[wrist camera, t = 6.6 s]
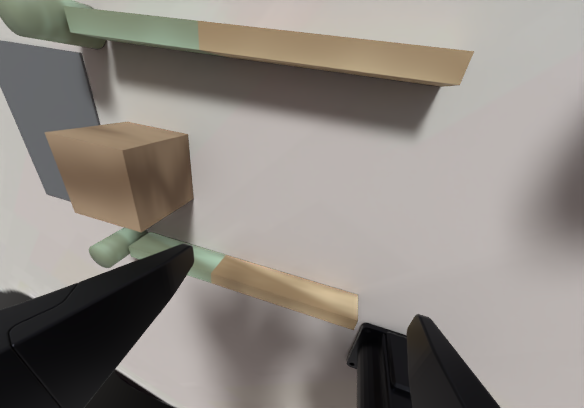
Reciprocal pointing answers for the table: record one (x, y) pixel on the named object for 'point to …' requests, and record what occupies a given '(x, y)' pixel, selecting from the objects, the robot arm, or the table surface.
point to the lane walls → (251, 46)
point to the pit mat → (46, 101)
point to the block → (124, 172)
